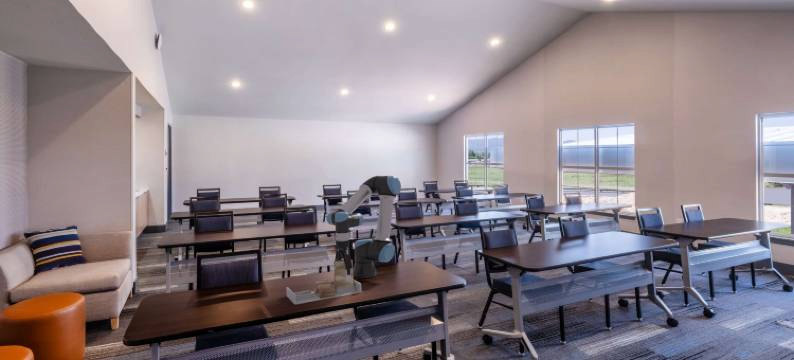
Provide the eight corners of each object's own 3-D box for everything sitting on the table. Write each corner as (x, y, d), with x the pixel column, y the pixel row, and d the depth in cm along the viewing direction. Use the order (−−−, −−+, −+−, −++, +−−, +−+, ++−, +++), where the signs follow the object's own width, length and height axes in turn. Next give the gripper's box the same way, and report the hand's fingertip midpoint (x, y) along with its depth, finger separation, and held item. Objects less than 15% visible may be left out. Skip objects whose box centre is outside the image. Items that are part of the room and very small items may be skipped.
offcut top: (315, 285, 238) (315, 281, 238) (327, 283, 241) (327, 280, 241) (319, 289, 230) (319, 286, 230) (331, 288, 232) (330, 284, 232)
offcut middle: (315, 289, 237) (314, 286, 237) (327, 287, 241) (327, 283, 241) (322, 294, 228) (322, 290, 228) (335, 292, 232) (335, 288, 232)
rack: (286, 298, 234) (286, 287, 233) (350, 287, 251) (350, 277, 251) (294, 306, 220) (294, 295, 219) (361, 294, 237) (361, 283, 237)
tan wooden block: (334, 291, 240) (333, 261, 239) (351, 288, 245) (350, 258, 244) (336, 293, 237) (335, 262, 236) (353, 290, 242) (352, 260, 241)
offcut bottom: (313, 292, 239) (313, 289, 239) (327, 290, 242) (327, 286, 242) (320, 298, 228) (320, 294, 228) (335, 295, 232) (335, 292, 232)
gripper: (328, 237, 249) (329, 273, 250) (344, 244, 227) (345, 284, 228) (340, 236, 252) (341, 271, 253) (357, 242, 230) (358, 282, 231)
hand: (343, 277), depth 240 cm, fingers open, 13 cm apart
